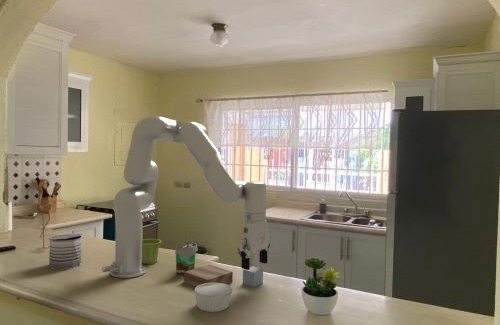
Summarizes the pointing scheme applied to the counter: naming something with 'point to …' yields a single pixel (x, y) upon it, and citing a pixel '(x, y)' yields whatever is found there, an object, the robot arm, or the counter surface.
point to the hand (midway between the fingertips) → (254, 265)
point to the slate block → (253, 276)
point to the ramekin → (213, 296)
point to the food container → (185, 257)
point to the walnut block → (207, 275)
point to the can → (65, 251)
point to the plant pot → (150, 250)
